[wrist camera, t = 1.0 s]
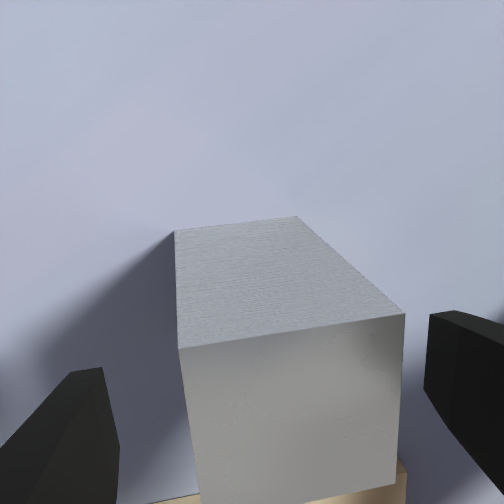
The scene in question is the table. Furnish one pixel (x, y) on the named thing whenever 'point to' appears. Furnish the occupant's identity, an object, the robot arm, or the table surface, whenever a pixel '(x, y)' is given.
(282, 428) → the brushed aluminum block
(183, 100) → the table surface
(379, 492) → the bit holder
